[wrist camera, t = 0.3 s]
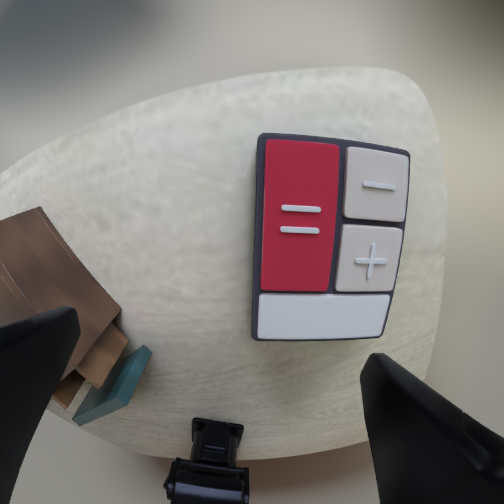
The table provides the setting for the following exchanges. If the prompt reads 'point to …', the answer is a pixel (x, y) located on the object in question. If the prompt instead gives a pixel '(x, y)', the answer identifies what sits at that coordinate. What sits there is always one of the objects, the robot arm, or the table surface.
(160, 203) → the table surface
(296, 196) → the calculator
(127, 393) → the drawer
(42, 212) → the cabinet
